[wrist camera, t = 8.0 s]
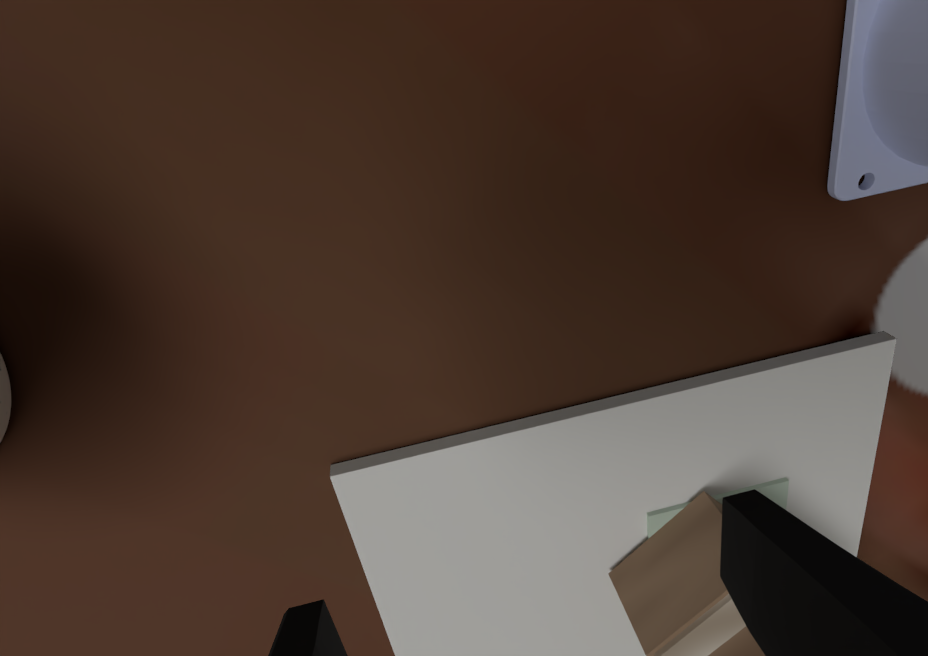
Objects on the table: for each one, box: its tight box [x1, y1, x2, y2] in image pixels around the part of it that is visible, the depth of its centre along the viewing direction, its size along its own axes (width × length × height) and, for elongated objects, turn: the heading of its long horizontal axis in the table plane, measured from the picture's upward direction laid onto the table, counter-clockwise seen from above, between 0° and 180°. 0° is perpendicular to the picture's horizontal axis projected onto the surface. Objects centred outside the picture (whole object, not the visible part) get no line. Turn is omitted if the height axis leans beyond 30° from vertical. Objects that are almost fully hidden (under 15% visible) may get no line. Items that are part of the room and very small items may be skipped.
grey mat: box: [330, 331, 897, 656], centre depth 24 cm, size 20×15×1 cm
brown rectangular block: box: [608, 491, 765, 656], centre depth 23 cm, size 8×5×4 cm, turn 49°
